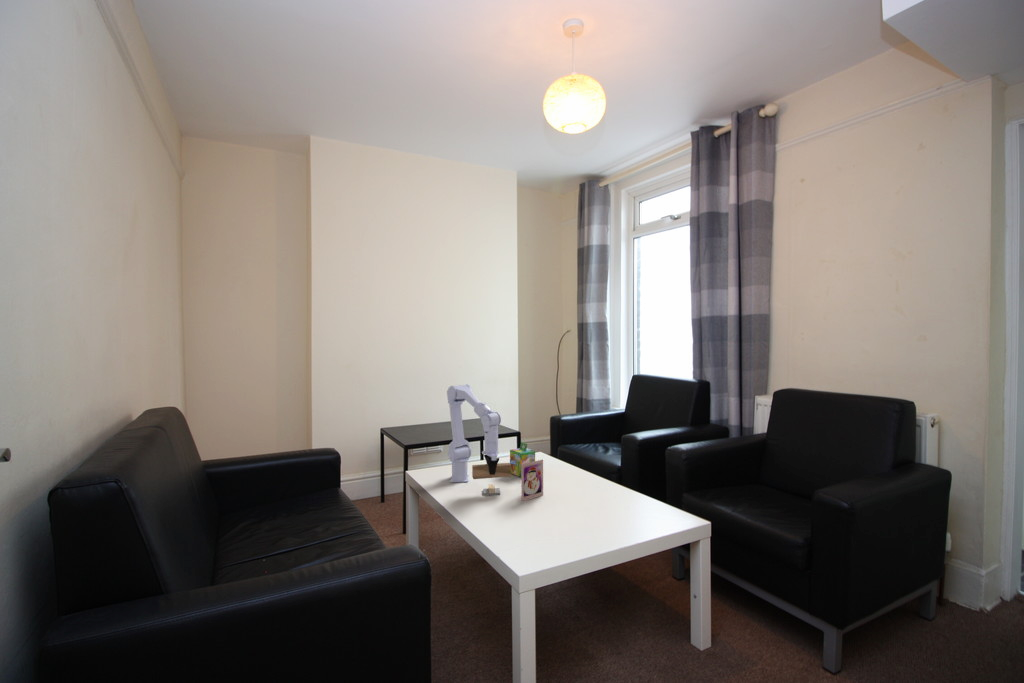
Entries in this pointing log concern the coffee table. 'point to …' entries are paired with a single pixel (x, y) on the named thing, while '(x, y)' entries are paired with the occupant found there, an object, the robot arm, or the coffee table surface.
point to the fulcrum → (491, 490)
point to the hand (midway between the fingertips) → (491, 473)
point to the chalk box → (520, 458)
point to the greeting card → (531, 479)
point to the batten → (483, 471)
